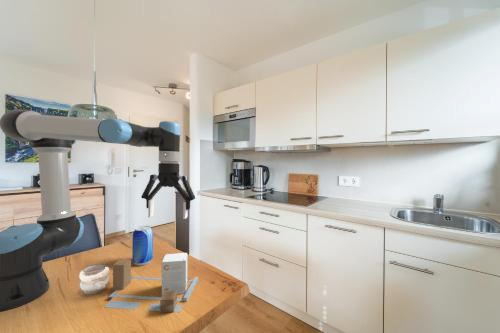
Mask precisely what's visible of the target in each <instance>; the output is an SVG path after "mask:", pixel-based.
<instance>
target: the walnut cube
mask: <svg viewBox="0 0 500 333" xmlns="http://www.w3.org/2000/svg"><path fill="white" fill-rule="evenodd" d="M177 298H178V294H177V291H170V292H164V293H163V295H162V294H161V300H159V301H160V302H159V304H160V311H159V314H162V313H163V314H165V313H166V314H167V313H175V312H174V310H175V307H176V305H178V304H177V302H178V301H177Z"/></svg>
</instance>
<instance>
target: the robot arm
mask: <svg viewBox="0 0 500 333" xmlns="http://www.w3.org/2000/svg"><path fill="white" fill-rule="evenodd" d="M180 128H181V125H180V124H179V123H178V122H174V121H167V120H166V121H165V120H164V121H160V122H159V124H158V126H157V127H156V126H155V127H154V126H153V127H152V126H151V127H150V126H143V125H139V124H135V123H132V122H128V121H125V120H123V119H121V118H113V117H111V118H106V119H101V118H89V117H78V116H77V117H76V116H61V115H53V114H47V113H43V112H38V111H34V110H29V109H22V108H20V109H12V110H9V111H7V112H5V113H4V114H3V115H2V116H1V118H0V129H1V131H2V133H3V134H4V135H6V136H7V137H9V138H10V139H12V140H13V141H18V142H22V143H29V144H30V143H31V148H32V151H34V152H36V153H37V154H38V155H37V157H38V172H39V185H40V186H39V188H40V189H39V190H40V205H41V215H39V216H38V217H37V219H36V223H35V222H34V223H25V224H21V225H14V226H11V227H8V228H6V229H3V230H0V312H1V311H2V312H3V311H7V310H11V309H15V308H17V307H21V306H23V305H26V304H28V303H30V302H33V301H34V300H37V299H38V298H40V297H41V296H43V295H44V294H46V293H47V292H48V291H49V288H50V280H49V278H48V276H47V274H46V272H45V270H44V269H43V268H44V267H43V258H44V257H45V256H48V255H50V254H53V253H54V252H55V253H56V252H58V251H60V250H62V249H65V248H67V247H70V246H71V245H73V244H75V243H76V242H78V241H79V240H80V239H81V238H82V236H83V234H84V230H85V225H84V223H83V221H82V220H81V218H80V217H78V216H77V214H76V212H74V211H73V210H72V209H71V194H70V193H71V192H70V177H69V176H70V175H69V174H70V173H69V158H68V157H69V156H68V154H69V152H71V151H72V150H73V145H75V143H77V141H81V142H82V141H83V142H95V143H109V144H119V145H129V146H131V147H139V148H142V147H146V148H148V147H149V148H150V147H151V148H152V147H153V148H154V147H155V148H158V162H159V163H158V175H157V174H150V175H149V181H148V182H147V185H146V186H145V188H144V190H143V192H142V195H141V199H145V200H146V209H148V210H147V211H148V212H147V213H148V214H147V215H148V216H147V218H152V217H154V214H155V198H154V197H155V196H156V195H157V193H158V192H159V191H160V190H161V189H162V188H167V187H169V188H174V189H176V191H177V192H178V194H180V196H181V197H182V198H183V199H184V201H183V203H182V204H183V206H182V208H183V210H182V218H183V220H185V219H187V218H189V216H188V213H189V212H188V211H189V210H190V209H191V201H193V200H195V199H196V196H195V194H194V192H193V190H192V186H190V183H189V181H188V180H189V178H188V176H187V175H180V163H179V162H180V155H181V154H180V152H181V151H180V149H181V148H180V147H181V146H180V145H181V129H180ZM157 180H158V183H157V184H156V186H155V187H154V185H155V183H156V181H157ZM179 181H180V182H182V185H183V187H184V188H185V189H184V188H183V187H182V185H181V183H179ZM153 187H154V188H153ZM185 190H186V191H185ZM153 198H154V199H153Z"/></svg>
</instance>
